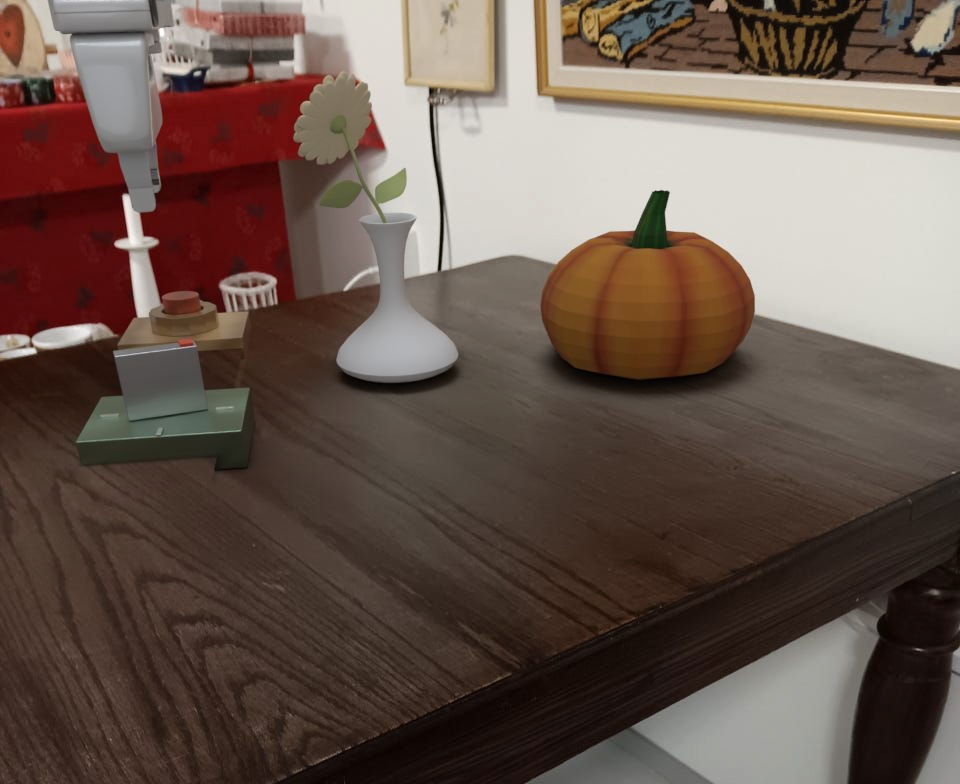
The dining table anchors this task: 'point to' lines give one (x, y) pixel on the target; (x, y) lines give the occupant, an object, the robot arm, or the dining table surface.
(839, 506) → the dining table surface
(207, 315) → the button block
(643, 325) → the pumpkin
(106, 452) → the panel
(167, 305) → the button
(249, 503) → the dining table surface
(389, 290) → the flower in vase
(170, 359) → the grey panel
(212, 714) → the dining table surface
